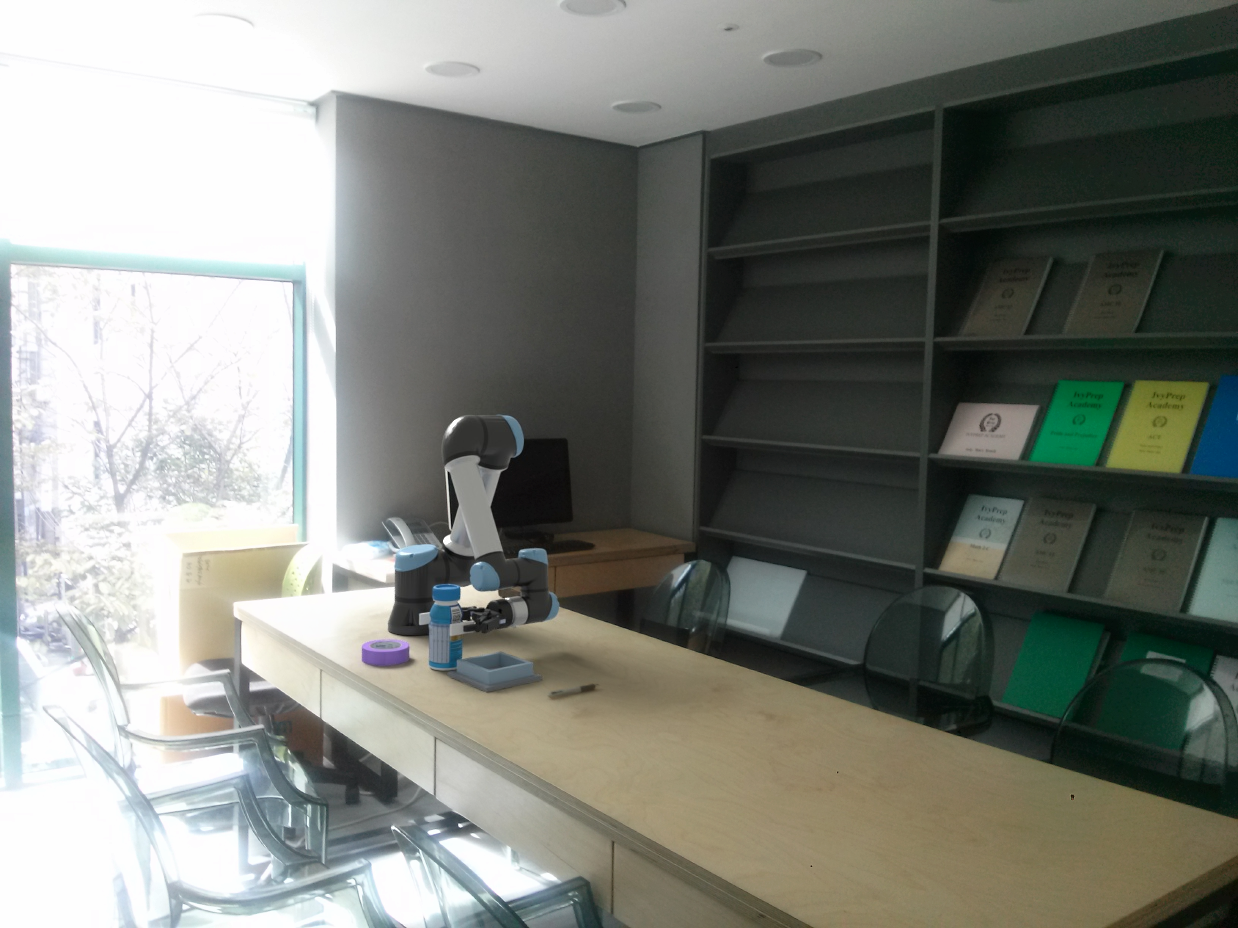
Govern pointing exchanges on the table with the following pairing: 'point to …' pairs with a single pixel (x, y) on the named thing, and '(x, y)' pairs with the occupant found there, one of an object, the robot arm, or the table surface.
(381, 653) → the masking tape
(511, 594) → the hand tool
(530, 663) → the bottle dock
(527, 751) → the table surface
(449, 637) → the beverage bottle
